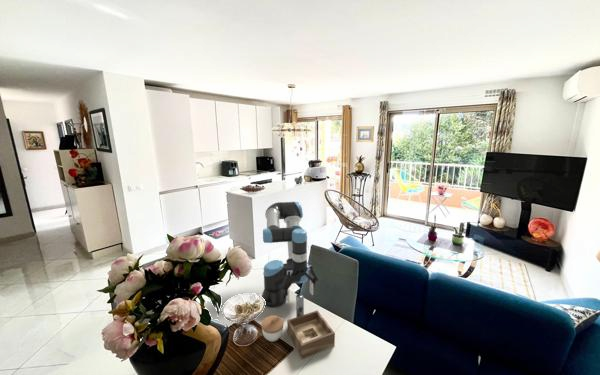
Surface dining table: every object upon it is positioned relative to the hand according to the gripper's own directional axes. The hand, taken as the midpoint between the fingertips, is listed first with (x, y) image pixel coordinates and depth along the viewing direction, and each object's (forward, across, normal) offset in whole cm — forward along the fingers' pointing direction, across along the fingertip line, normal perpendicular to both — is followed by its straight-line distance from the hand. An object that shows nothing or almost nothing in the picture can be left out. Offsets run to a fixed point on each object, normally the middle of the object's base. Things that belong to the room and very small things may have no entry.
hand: (299, 296), depth 131 cm
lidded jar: (+14, -17, -5) cm, 23 cm away
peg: (+14, 0, 0) cm, 14 cm away
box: (+14, -1, -14) cm, 20 cm away
